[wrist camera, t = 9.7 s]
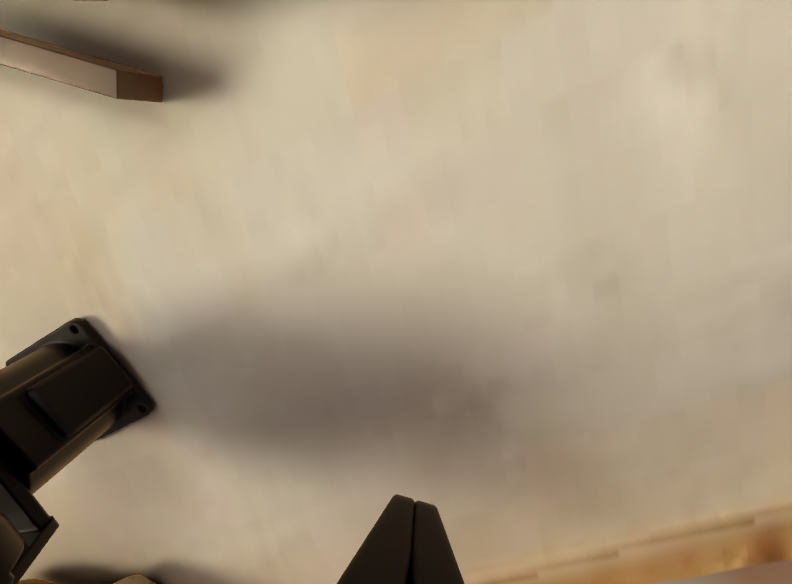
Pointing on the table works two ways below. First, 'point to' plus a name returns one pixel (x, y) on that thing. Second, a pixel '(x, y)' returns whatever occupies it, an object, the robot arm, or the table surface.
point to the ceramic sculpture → (129, 583)
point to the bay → (78, 69)
